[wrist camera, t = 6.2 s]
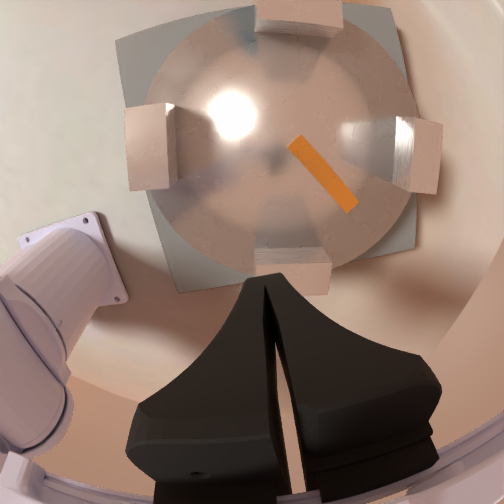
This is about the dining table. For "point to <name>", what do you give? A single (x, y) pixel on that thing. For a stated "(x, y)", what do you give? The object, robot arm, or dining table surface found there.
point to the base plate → (135, 92)
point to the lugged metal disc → (281, 141)
